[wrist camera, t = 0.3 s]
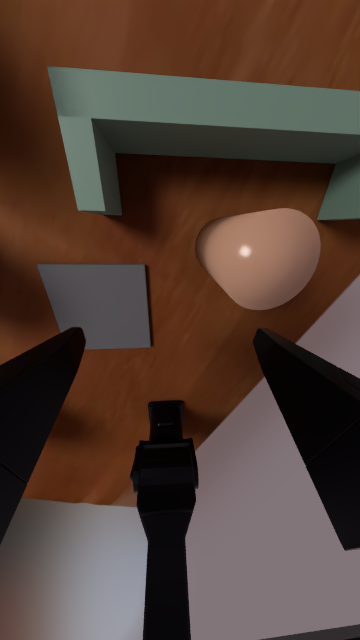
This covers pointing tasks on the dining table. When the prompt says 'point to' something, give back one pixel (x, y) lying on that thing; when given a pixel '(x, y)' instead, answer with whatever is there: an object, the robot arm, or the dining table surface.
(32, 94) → the dining table surface
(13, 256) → the dining table surface
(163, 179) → the dining table surface
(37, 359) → the robot arm
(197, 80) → the green bracket handle
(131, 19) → the dining table surface
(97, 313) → the mat
